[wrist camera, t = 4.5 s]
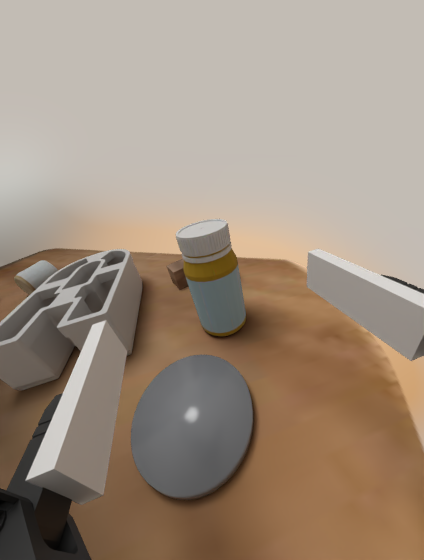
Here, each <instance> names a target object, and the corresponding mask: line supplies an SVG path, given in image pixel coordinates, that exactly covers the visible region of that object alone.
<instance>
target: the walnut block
mask: <svg viewBox="0 0 424 560" xmlns="http://www.w3.org/2000/svg"><path fill="white" fill-rule="evenodd" d="M183 267H184V259H181V260H179V261H176V262H174V263H172V264H170V265H167V268H168V271H169V274H170V276H171V279H172V281H173V283H174V284H175V285H176V286H177V287H178V288H179V290H181V289H183V288H185V287H187V286H188V283H187V280H186V277H185V273H184V270H183Z"/></svg>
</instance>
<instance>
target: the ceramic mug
mask: <svg viewBox="0 0 424 560" xmlns="http://www.w3.org/2000/svg"><path fill="white" fill-rule="evenodd" d="M57 271H58V270H57V269H56V268H55V267H54V266H53V265H52V264H50V263H48V262H47V261H44V260H42V261H39V262H38V263H36V264H34V265H33V266H31V267H29V268H27V269H25V270H24V271H22V272H20V273H19V274H17V275H16V276H15V277H14V280H15V282H16V284H17V285H18V286H19V287H20V288H21V289H22V290H23V291H25V292H26V293H28V294H30V295H31V294H32V293H33V292H34V291H35V290H36V289H37V288H38V287H39V286H40V285H41V284H42V283H44V282H45V281H46V280H47V279H48V278H49V277H50V276H51V275H53V274H54V273H56V272H57Z"/></svg>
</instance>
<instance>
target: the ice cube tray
mask: <svg viewBox="0 0 424 560" xmlns="http://www.w3.org/2000/svg"><path fill="white" fill-rule="evenodd" d="M142 288H143V286H142V279H141V277H140V275H139V273H138V271H137V269H136V267H135V265H134V263H133V259H132V257H131V254H130V252H129V251H128V250H125V249H115V250H110V251H104V252H101V253H97V254H94V255H91V256H88V257H86V258H83V259H81V260H78V261H76V262H74V263H72V264H70V265H68V266H66V267H64V268H62V269H60V270H59V271H57V272H56V273H54V274H53V275H51V276H50V277H49V278H48V279H47V280H46V281H45V282H44V283H42V284H41V285H40V286H39V287H38V288H37V289H36V290H35V291H34V292H33V293H32V294H31V295H29V296H28V297H27V298H26V299H25V300H24V301H23V302H22V303H21V304H20V305H19V306H17V307H16V308H15V309H14V310H13V311H12V312H11V313H10V314H9V315H8V316H7V317H5V318H4V319H3V320H2V321H1V322H0V379H1V380H2V381H4V382H5V383H6V384H8V385H9V386H11V387H12V388H13V389H16V390H25V389H28V388H31V387H34V386H37V385H40V384H43V383H46V382H49V381H52V380H55V379H58V378H59V377H60V375H61V373H62V371H63V369H64V367H65V365H66V363H67V361H68V359H69V357H70V355H71V353H72V351H73V349H74V347H75V346H77V347H78V349H79V350H80V351H81V350H82V348H83V346H84V344H85V341H86V339H87V337H88V334H89V332H90V330H91V327H92V325H93V324H96V323H99V322H102V321H105V320H106V321H107V322H108V324H109V325H110V327H111V328H112V330H113V331H114V333H115V334H116V335H117V337H118V338H119V340H120V341H121V343H122V344H123V346H124V347H125V349H126V350H127V355H126V356H128V355H131V354H132V348H133V342H134V336H135V330H136V324H137V318H138V312H139V306H140V300H141V294H142Z"/></svg>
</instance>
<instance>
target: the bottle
mask: <svg viewBox="0 0 424 560" xmlns="http://www.w3.org/2000/svg"><path fill="white" fill-rule="evenodd" d="M176 238H177V242H178V245H179V248H180V251H181V252H182V257H183V259H184V267H183V270H184V273H185V277H186V280H187V283H188V286H189V289H190V292H191V295H192V298H193V301H194V304H195V307H196V310H197V313H198V316H199V319H200V322H201V325H202V327H203V329H204V330H205V331H206V332H207V333H209V334H211V335H215V336H228V335H231V334H233V333H235V332H236V331H238V330H239V329H240V328H241V327H242V326H243V325H244V323H245V321H246V312H245V305H244V299H243V293H242V287H241V281H240V274H239V268H238V262H237V257H236V255H235V253H234V252H233V250H232V248H231V242H230V235H229V228H228V224H227V222H226V221H225V220H222V219H211V220H204V221H199V222H196V223H193V224H190V225H187V226H185V227H183V228H182V229H180V230H178V232H177V233H176Z"/></svg>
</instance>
